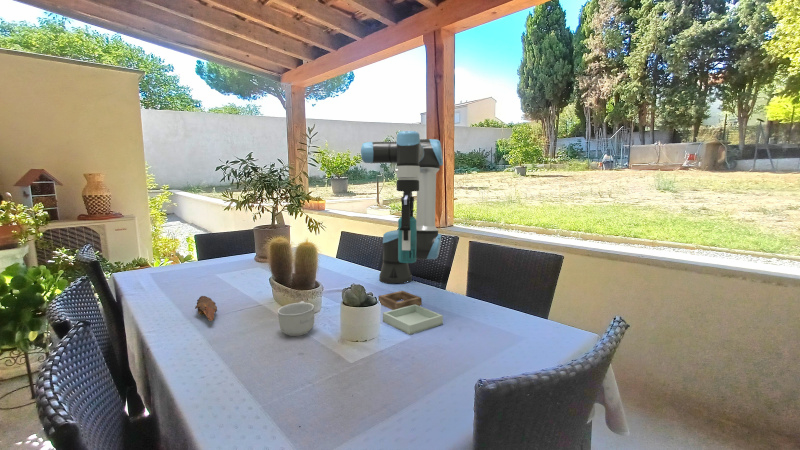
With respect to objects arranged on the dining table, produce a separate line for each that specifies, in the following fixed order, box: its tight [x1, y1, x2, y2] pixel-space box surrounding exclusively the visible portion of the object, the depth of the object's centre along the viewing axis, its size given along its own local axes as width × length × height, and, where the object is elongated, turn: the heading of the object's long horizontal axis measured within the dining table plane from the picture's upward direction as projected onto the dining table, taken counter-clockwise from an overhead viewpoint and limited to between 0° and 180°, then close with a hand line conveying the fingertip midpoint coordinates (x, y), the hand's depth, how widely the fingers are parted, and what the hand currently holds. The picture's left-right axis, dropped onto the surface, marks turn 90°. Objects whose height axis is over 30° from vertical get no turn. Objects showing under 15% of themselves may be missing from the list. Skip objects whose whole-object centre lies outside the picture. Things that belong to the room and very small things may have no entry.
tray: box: [382, 304, 444, 336], centre depth 126 cm, size 14×14×3 cm
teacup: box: [277, 300, 315, 337], centre depth 119 cm, size 14×11×8 cm
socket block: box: [378, 290, 423, 311], centre depth 144 cm, size 12×12×3 cm
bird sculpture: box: [194, 295, 218, 322], centre depth 132 cm, size 7×25×5 cm, turn 36°
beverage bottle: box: [397, 207, 418, 264], centre depth 129 cm, size 6×7×20 cm
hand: (407, 248), depth 129 cm, fingers closed on beverage bottle, 6 cm apart
